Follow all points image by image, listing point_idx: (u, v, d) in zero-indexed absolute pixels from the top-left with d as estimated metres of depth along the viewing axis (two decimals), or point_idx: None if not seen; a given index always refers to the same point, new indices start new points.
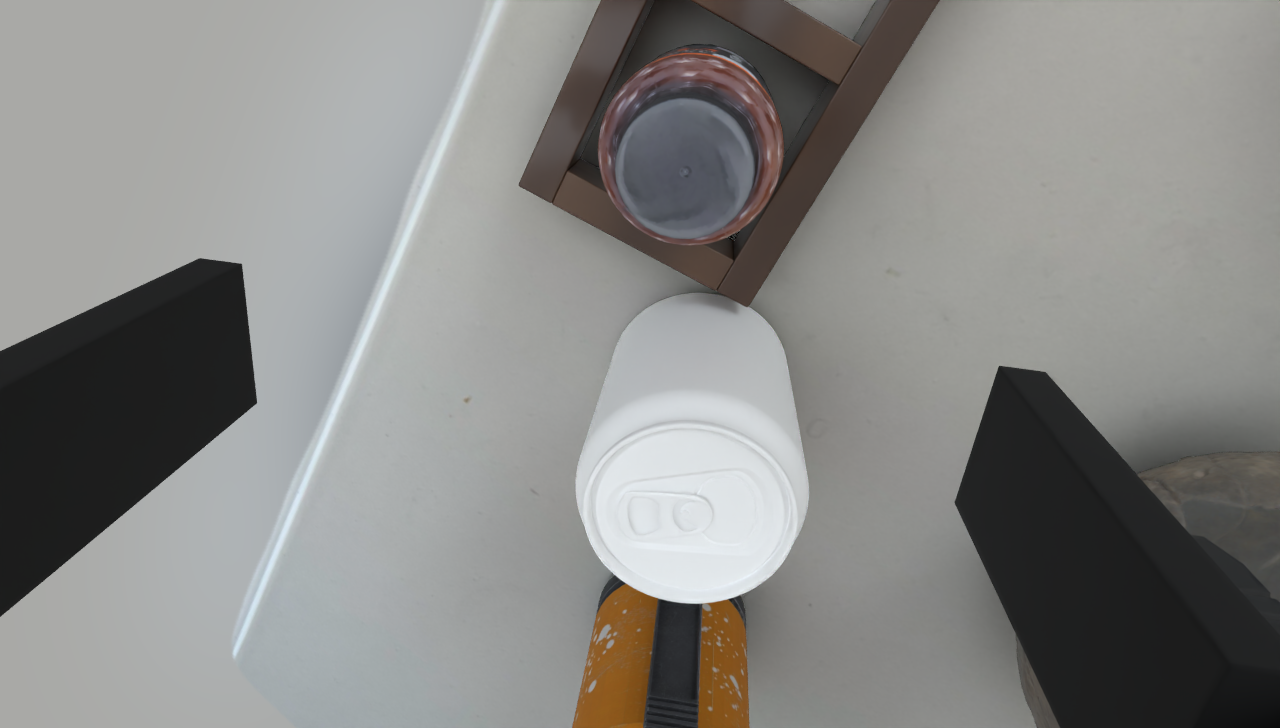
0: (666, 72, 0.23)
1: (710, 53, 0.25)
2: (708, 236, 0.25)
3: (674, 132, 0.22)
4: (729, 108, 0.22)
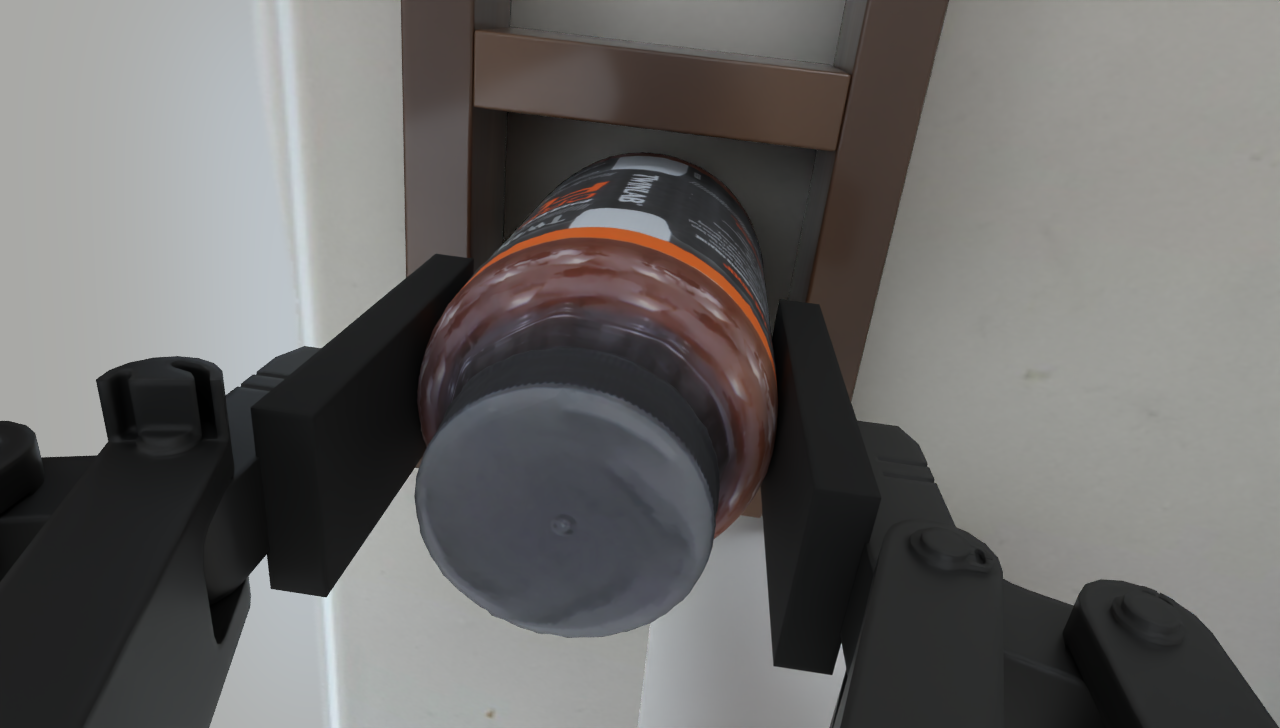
0: (481, 310, 0.12)
1: (570, 219, 0.13)
2: None
3: (505, 463, 0.10)
4: (609, 358, 0.10)
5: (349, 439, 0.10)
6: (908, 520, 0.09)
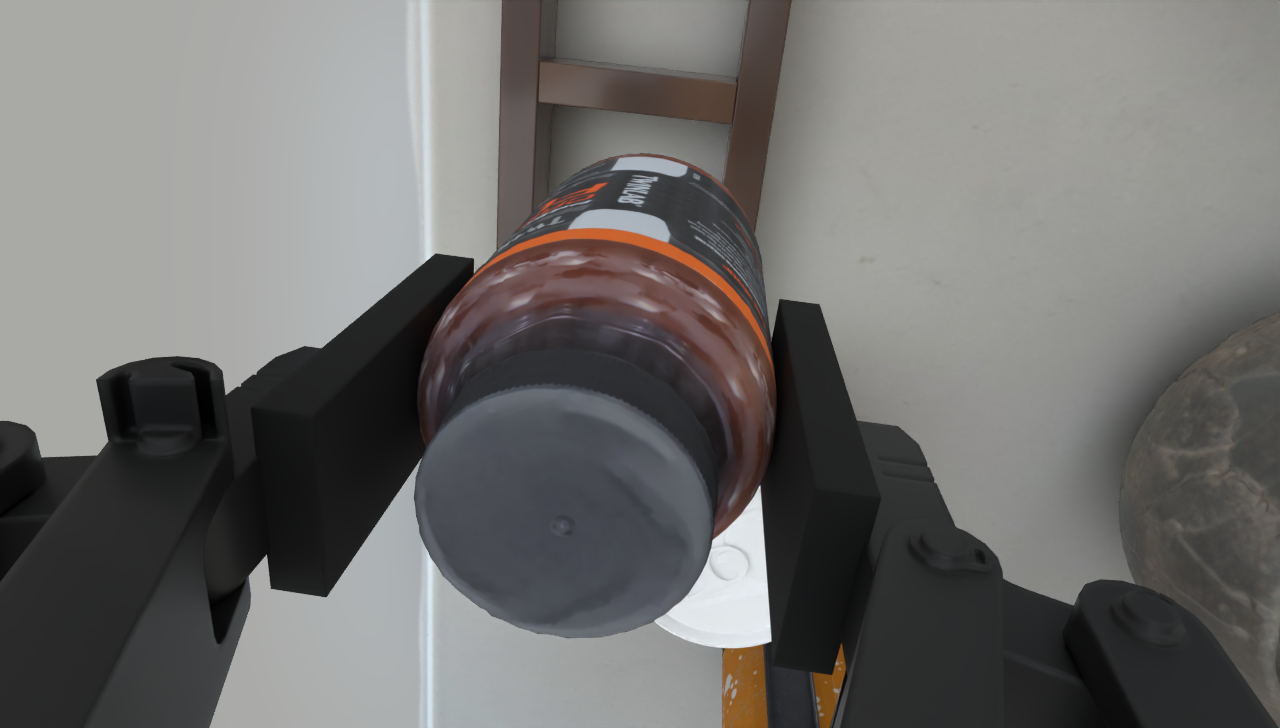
0: (480, 310, 0.12)
1: (569, 220, 0.13)
2: None
3: (505, 464, 0.10)
4: (608, 359, 0.10)
5: (349, 440, 0.10)
6: (908, 520, 0.09)
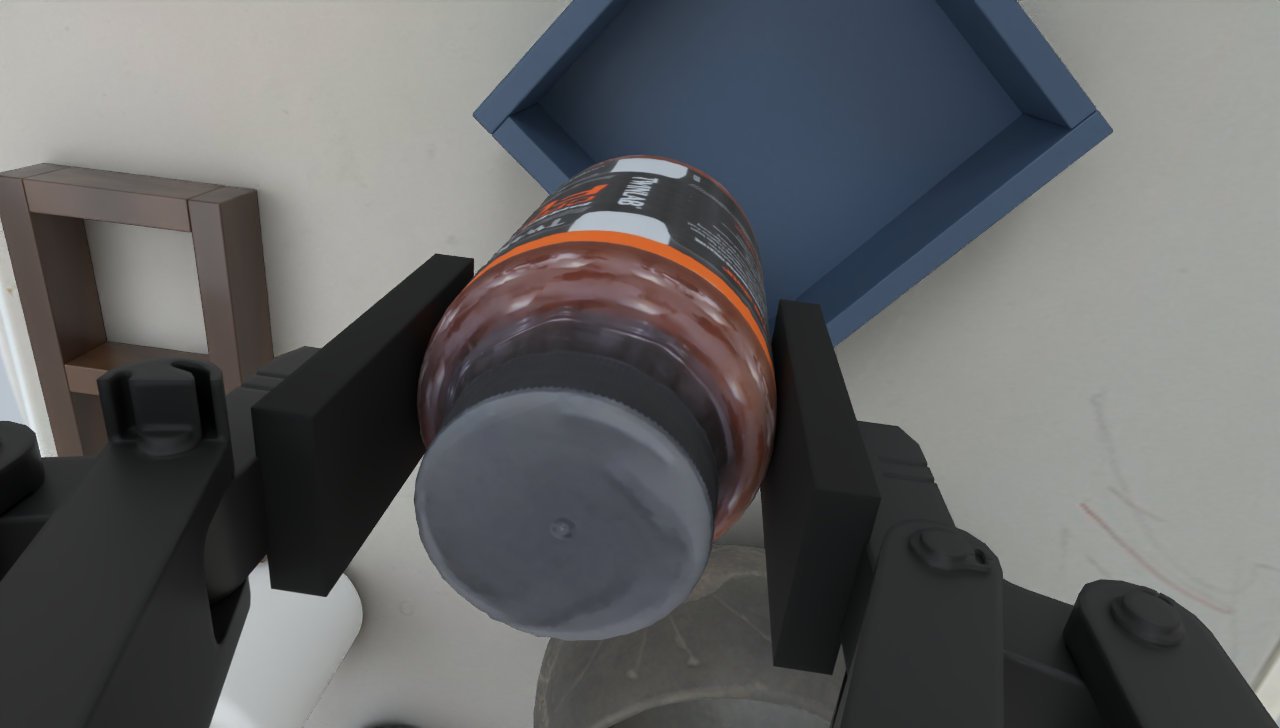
0: (480, 312, 0.12)
1: (569, 223, 0.13)
2: None
3: (505, 468, 0.10)
4: (608, 362, 0.10)
5: (349, 440, 0.10)
6: (908, 520, 0.09)
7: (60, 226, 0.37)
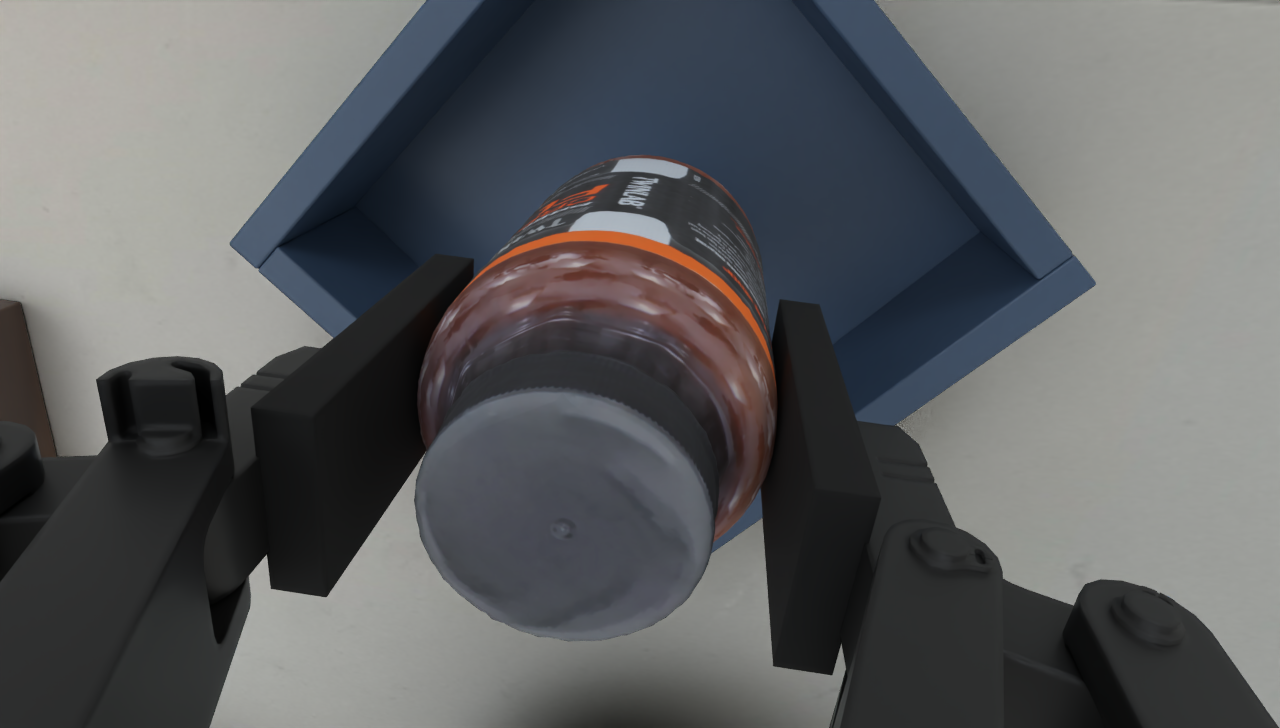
0: (480, 312, 0.12)
1: (570, 223, 0.13)
2: None
3: (506, 468, 0.10)
4: (609, 362, 0.10)
5: (349, 440, 0.10)
6: (908, 520, 0.09)
7: None
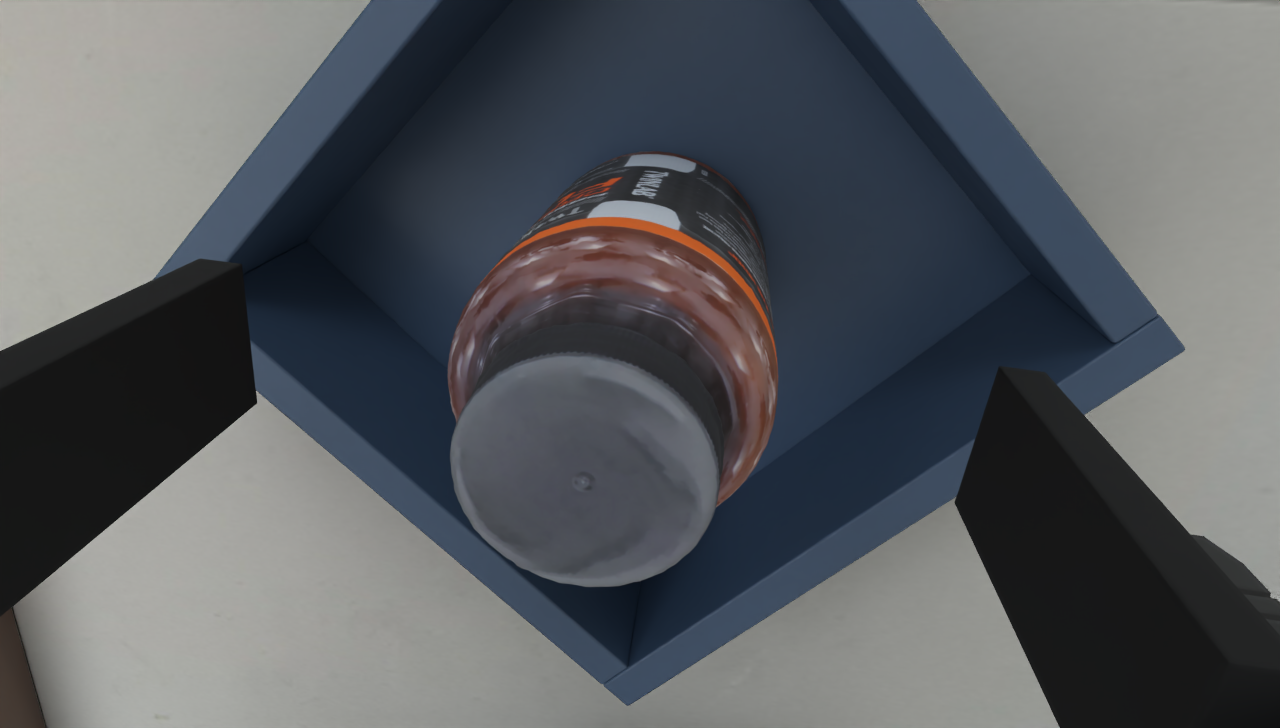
0: (507, 290, 0.13)
1: (587, 210, 0.14)
2: None
3: (533, 424, 0.11)
4: (625, 332, 0.11)
5: None
6: None
7: None
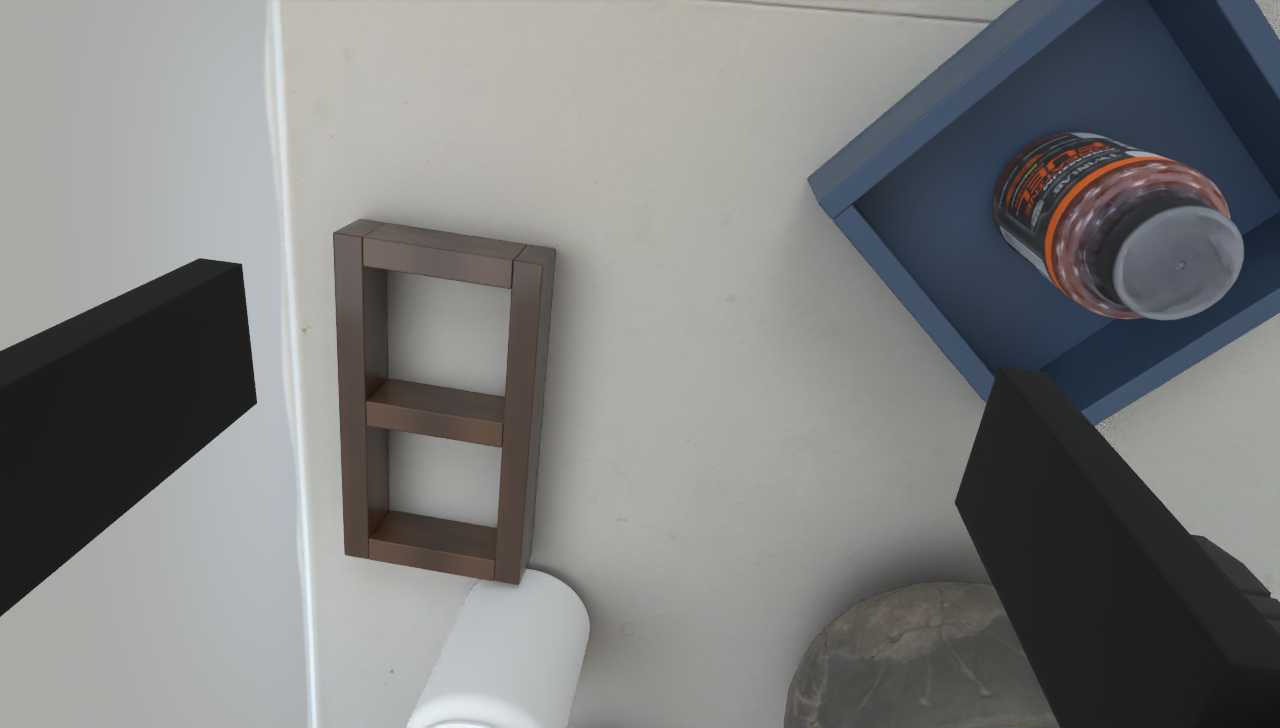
0: (1116, 187, 0.27)
1: (1126, 154, 0.29)
2: None
3: (1167, 238, 0.26)
4: (1198, 201, 0.26)
5: None
6: None
7: (376, 277, 0.41)
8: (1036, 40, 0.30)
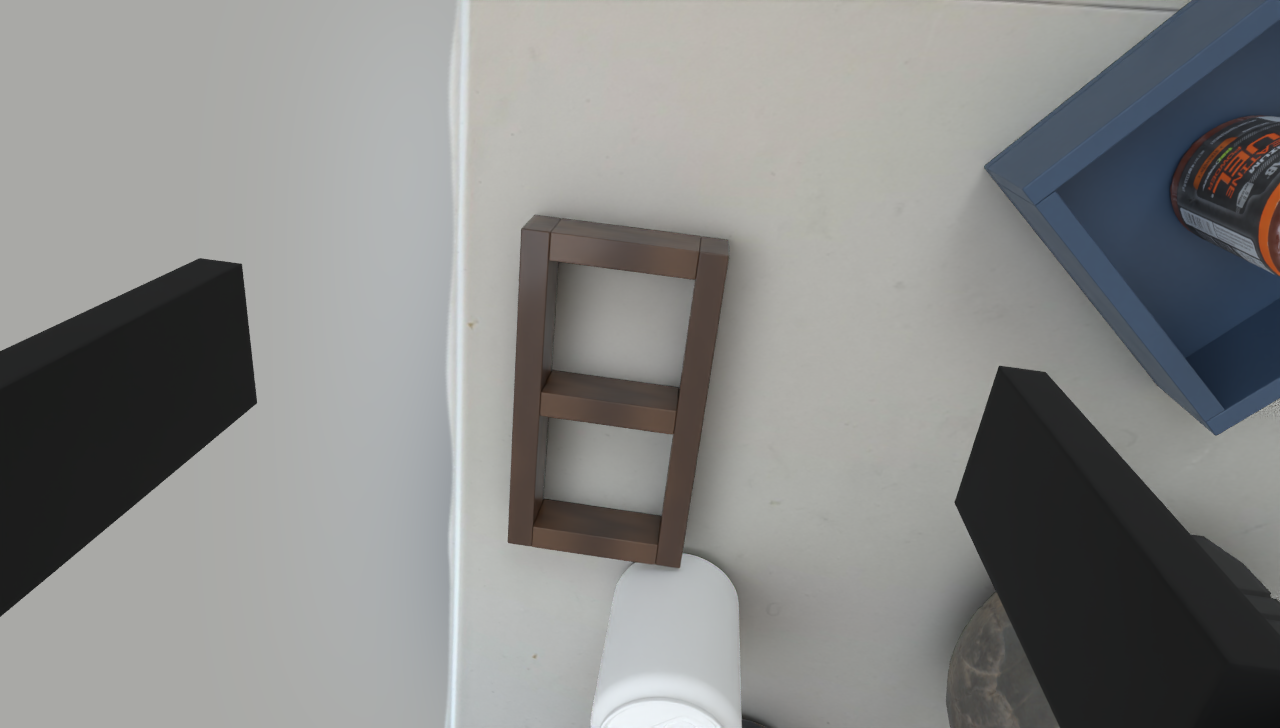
0: None
1: None
2: None
3: None
4: None
5: None
6: None
7: (553, 271, 0.42)
8: (1251, 28, 0.31)
